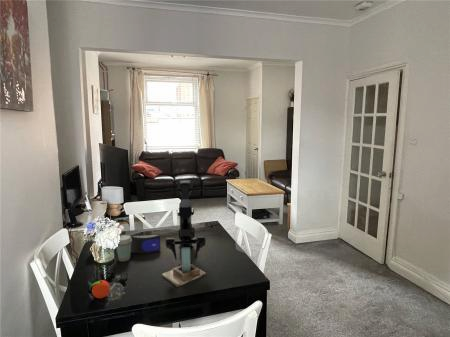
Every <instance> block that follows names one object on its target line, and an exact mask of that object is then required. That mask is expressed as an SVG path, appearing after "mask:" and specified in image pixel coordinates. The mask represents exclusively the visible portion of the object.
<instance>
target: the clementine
mask: <svg viewBox="0 0 450 337" xmlns="http://www.w3.org/2000/svg"><path fill="white" fill-rule="evenodd" d="M91 287H92V289H91ZM90 289H91V292H92V296H93V297H95V298H97V299H103V298H105V297H107V296H108V294H109V293H110V290H111V285H110V283H109V282H108V281H107V280H103V279H102V280H98V281H95V282H93V283H92V284H91V285H90V286H89V290H90Z"/></svg>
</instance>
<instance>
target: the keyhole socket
mask: <svg viewBox="0 0 450 337" xmlns="http://www.w3.org/2000/svg"><path fill="white" fill-rule="evenodd" d="M190 268H191V271H189V272H187V273H183V272H182V264H181V265H178V266H176V267H173V268H172V269H171V270H169V271H166V272H163V273H162V274H161V276H162V277H163V278H165V279H166V280H168V281H169V283H171V284H172V285H174V286H175V287H177V288H179V287H180V286H183V285H185V284H188V283H190V282H192V281H194V280H196V279H199V278H201V277H203V276H206V275H207V274H206V272H205V271H204V270H202V269H201V268H199V267H197V266H195V265H194V264H192V263H191V262H190Z"/></svg>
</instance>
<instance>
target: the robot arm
mask: <svg viewBox="0 0 450 337" xmlns="http://www.w3.org/2000/svg"><path fill="white" fill-rule="evenodd" d="M177 189H178V191H179V193H180V194H181V201H180V202H179V206H178V207H177V216H179V218H178V219H179V228H178V239H177V240H176V239H175V237H166V239H165V247H166V249H169V250H171V252H172V254H173V257H174V260H175V261H177V252H176V245H179V246H178V247H179V248H180V249H182V248H183V247H189V248H190V249H193V248H195V260H197V259H198V255H199V252H200V251H201V249H202V248H203V247H205V246H206V237H205V236H195V235H196V234H195V233H196V232H195V230H196V228H195V227H193V224H192V216H194V215H195V208H193V207H192V202H191V201H190V194H191V192H192V189H193V182H192V181H191V180H179V182H177ZM194 238H195V239H194ZM193 244H194V245H195V244H196V246H194V245H193Z"/></svg>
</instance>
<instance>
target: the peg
mask: <svg viewBox="0 0 450 337" xmlns="http://www.w3.org/2000/svg"><path fill="white" fill-rule="evenodd" d="M180 249H181V250H180V251H181V265H182V272H183V273H187V272H189V271H191V268H190V263H191V248H189V247H183V248H180Z"/></svg>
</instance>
